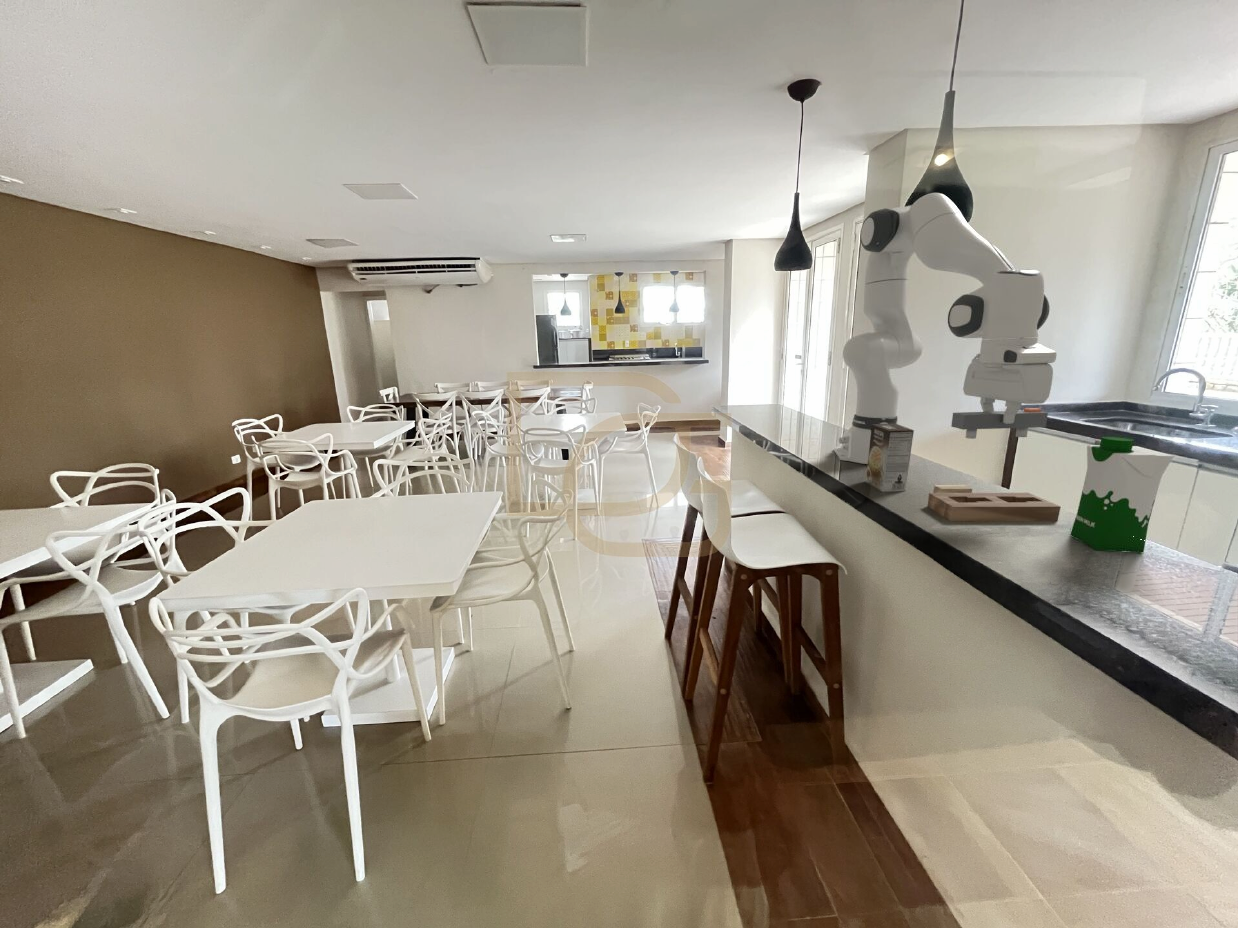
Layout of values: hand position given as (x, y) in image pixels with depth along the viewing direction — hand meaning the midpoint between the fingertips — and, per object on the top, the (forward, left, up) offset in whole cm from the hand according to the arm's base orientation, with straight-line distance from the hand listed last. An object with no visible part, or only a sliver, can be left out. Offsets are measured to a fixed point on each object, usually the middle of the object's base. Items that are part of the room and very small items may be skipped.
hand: (997, 421), depth 100 cm
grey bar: (0, 0, -3) cm, 3 cm away
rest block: (-11, 0, -21) cm, 23 cm away
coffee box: (-19, -12, -21) cm, 31 cm away
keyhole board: (+1, +1, -21) cm, 21 cm away
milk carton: (+16, +12, -21) cm, 29 cm away
